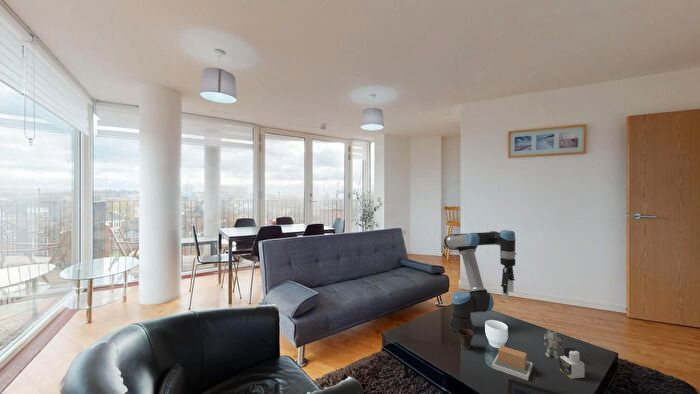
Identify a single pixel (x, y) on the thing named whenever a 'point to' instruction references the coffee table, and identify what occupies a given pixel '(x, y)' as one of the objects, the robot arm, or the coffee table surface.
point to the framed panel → (513, 369)
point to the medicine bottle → (571, 364)
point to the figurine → (552, 343)
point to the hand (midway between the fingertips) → (508, 294)
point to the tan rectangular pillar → (512, 357)
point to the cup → (465, 337)
